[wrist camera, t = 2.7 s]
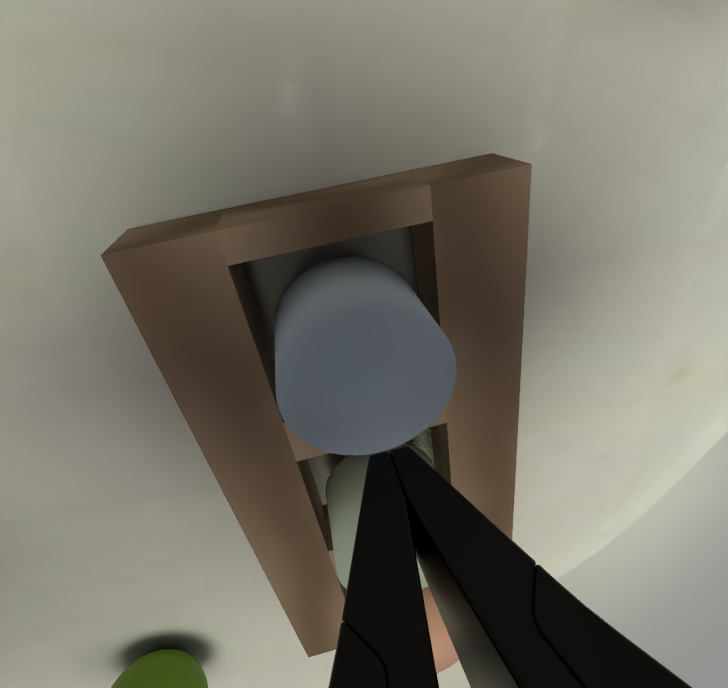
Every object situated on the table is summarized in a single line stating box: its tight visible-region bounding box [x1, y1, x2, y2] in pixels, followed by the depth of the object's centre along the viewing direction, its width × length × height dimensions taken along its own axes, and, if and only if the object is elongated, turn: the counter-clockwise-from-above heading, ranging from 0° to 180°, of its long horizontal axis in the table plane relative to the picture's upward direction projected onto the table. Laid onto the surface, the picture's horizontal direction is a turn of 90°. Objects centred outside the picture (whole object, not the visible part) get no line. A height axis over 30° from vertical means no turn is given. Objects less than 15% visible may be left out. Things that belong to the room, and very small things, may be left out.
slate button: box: [274, 256, 456, 455], centre depth 13 cm, size 5×5×4 cm
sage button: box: [326, 443, 435, 589], centre depth 17 cm, size 5×5×4 cm
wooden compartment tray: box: [101, 154, 531, 657], centre depth 19 cm, size 12×24×2 cm, turn 9°
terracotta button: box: [422, 586, 459, 673], centre depth 21 cm, size 5×5×4 cm
